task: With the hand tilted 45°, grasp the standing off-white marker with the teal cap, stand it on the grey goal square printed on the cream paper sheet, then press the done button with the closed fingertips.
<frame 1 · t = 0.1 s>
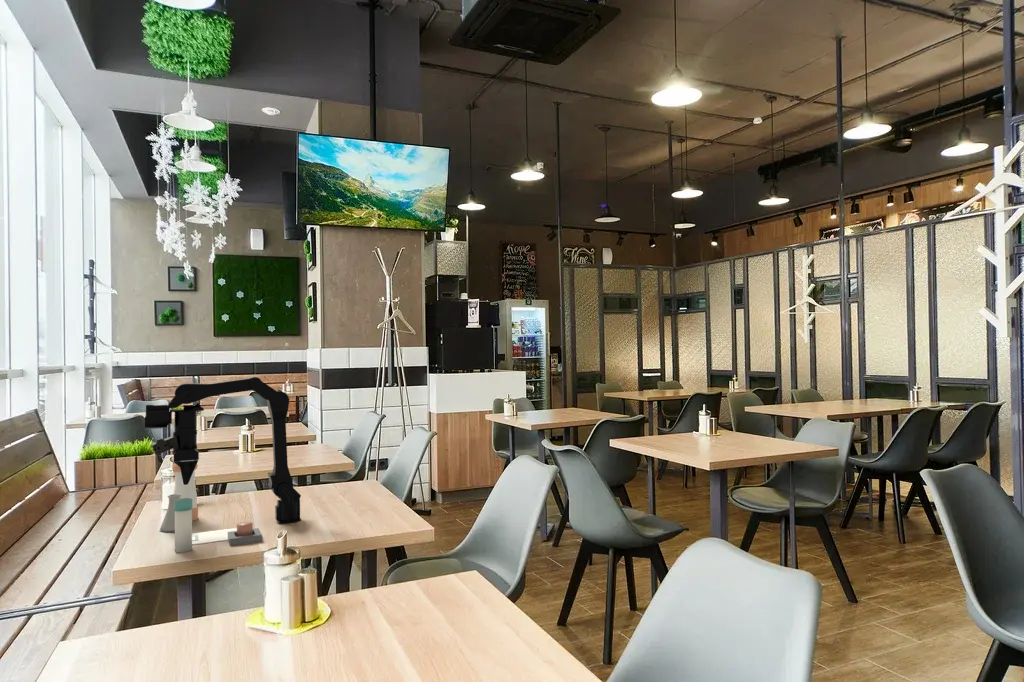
hand: (185, 481, 185), 15 cm above the table, tool pointing down, fingers open, 9 cm apart
done button: (244, 529, 178), point 3 cm above the table, slide at 0.0 cm
pepper shaker: (185, 520, 201), on the table
button collar: (244, 540, 178), on the table
flask: (174, 530, 190), on the table
paper: (210, 537, 181), on the table
marker: (183, 550, 169), on the table
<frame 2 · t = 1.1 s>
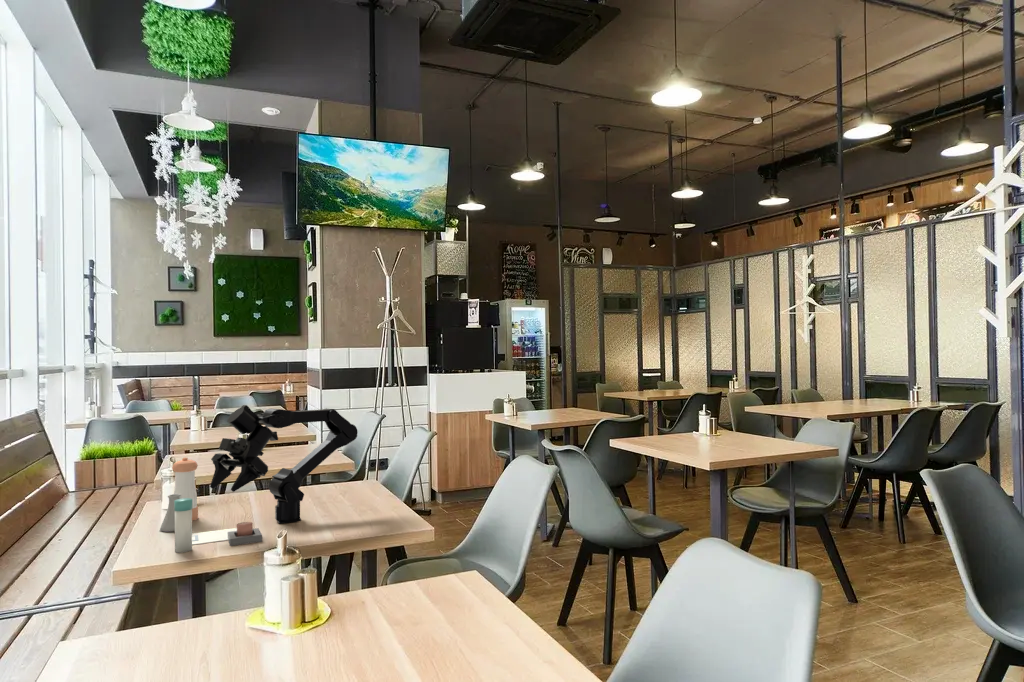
hand: (221, 489, 181), 13 cm above the table, tool tilted 45°, fingers open, 9 cm apart
nothing on the table moved.
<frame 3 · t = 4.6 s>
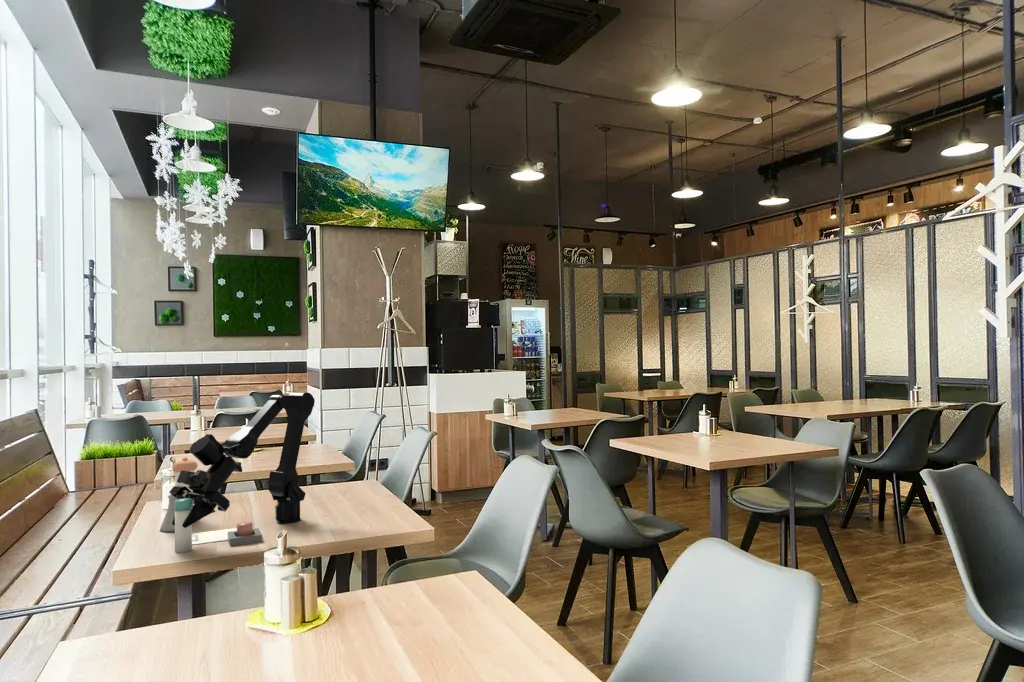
hand: (178, 525, 168), 7 cm above the table, tool tilted 45°, fingers closed on marker, 4 cm apart
marker: (183, 550, 169), on the table, touching gripper
everything else where it was.
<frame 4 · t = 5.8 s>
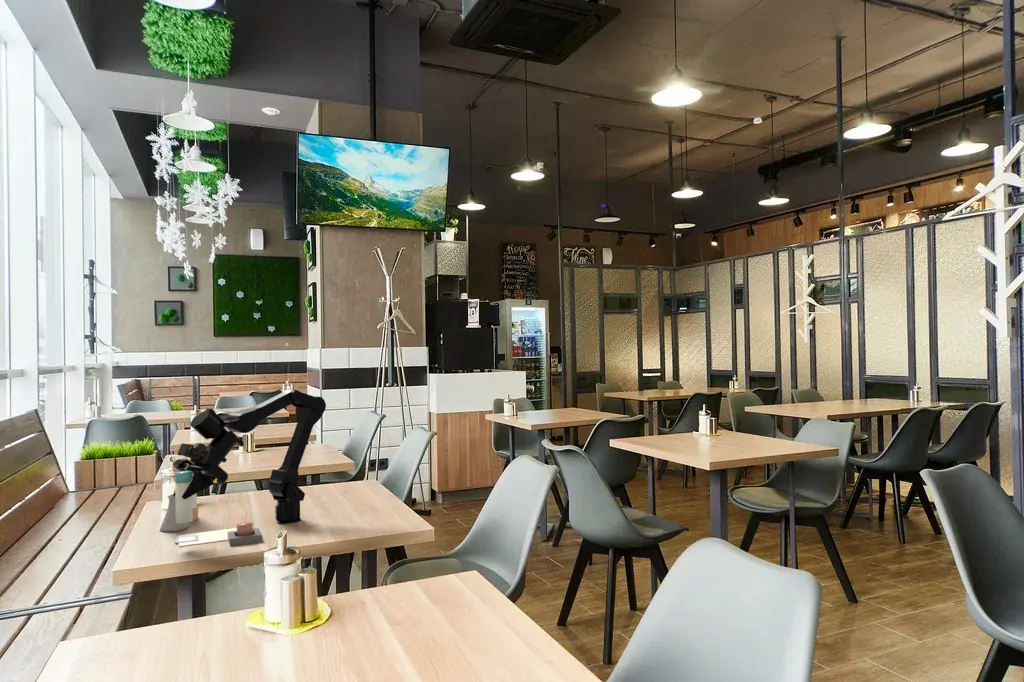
hand: (178, 497, 171), 13 cm above the table, tool tilted 45°, fingers closed on marker, 4 cm apart
marker: (184, 521, 172), point 7 cm above the table, touching gripper
everything else where it was.
when the fingers open (8 cm above the table, at t = 7.5 s): marker drops 1 cm, resting on paper.
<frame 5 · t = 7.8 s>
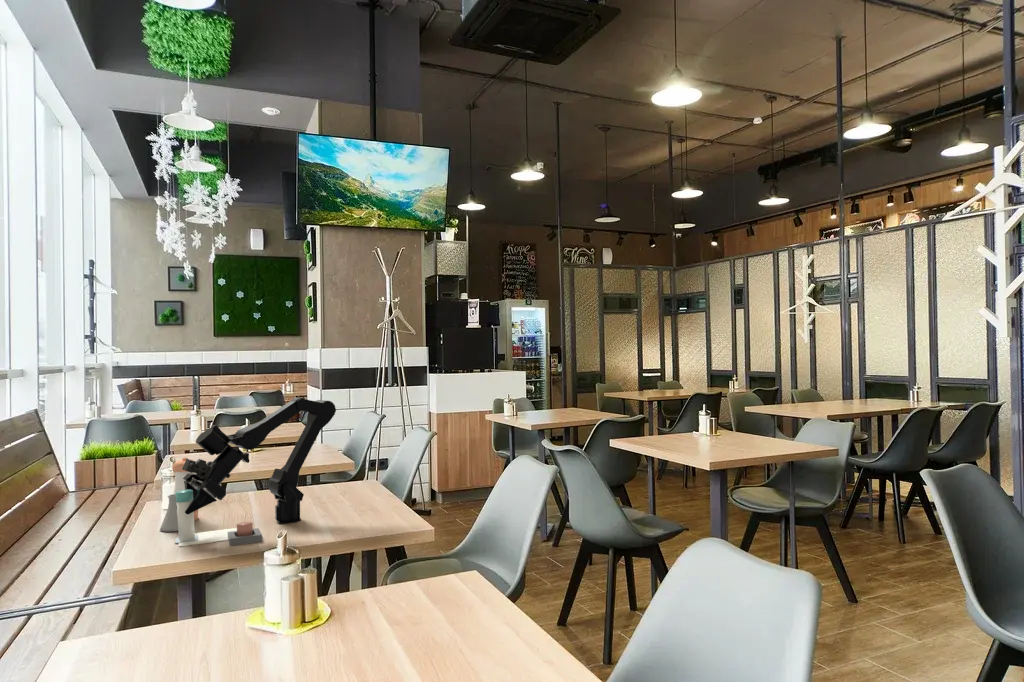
hand: (181, 511, 177), 8 cm above the table, tool tilted 45°, fingers open, 7 cm apart
marker: (187, 538, 178), resting on paper
everything else where it was.
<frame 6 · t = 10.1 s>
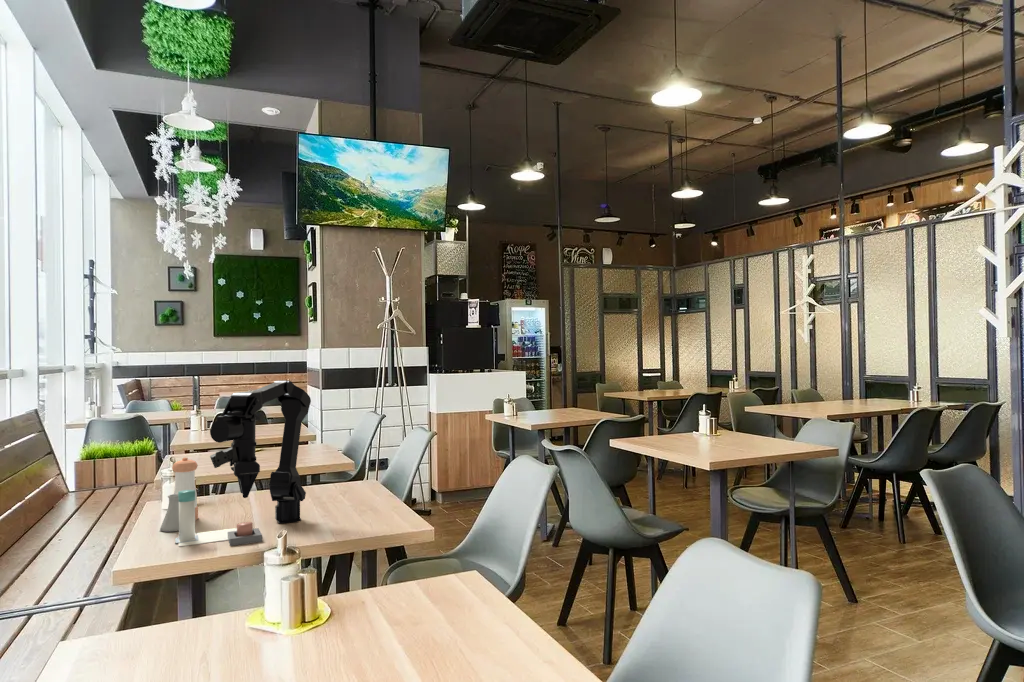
hand: (244, 495, 178), 12 cm above the table, tool pointing down, fingers open, 7 cm apart
nothing on the table moved.
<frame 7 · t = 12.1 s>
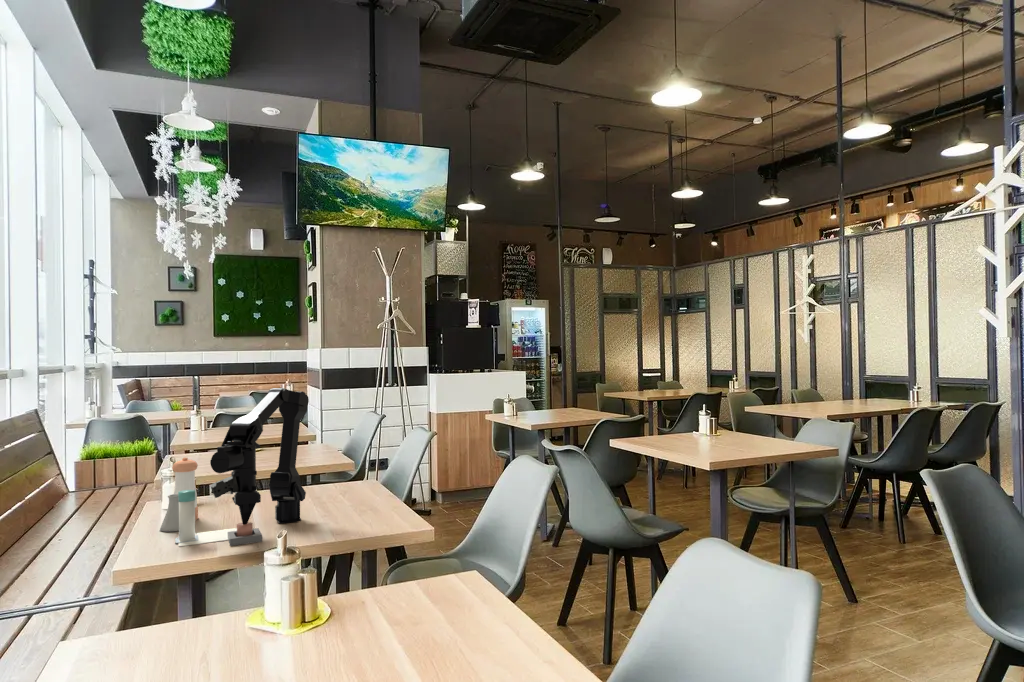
hand: (244, 524, 178), 4 cm above the table, tool pointing down, fingers closed, pressing on done button
done button: (244, 529, 178), point 3 cm above the table, slide at 0.1 cm, touching gripper
everything else where it was.
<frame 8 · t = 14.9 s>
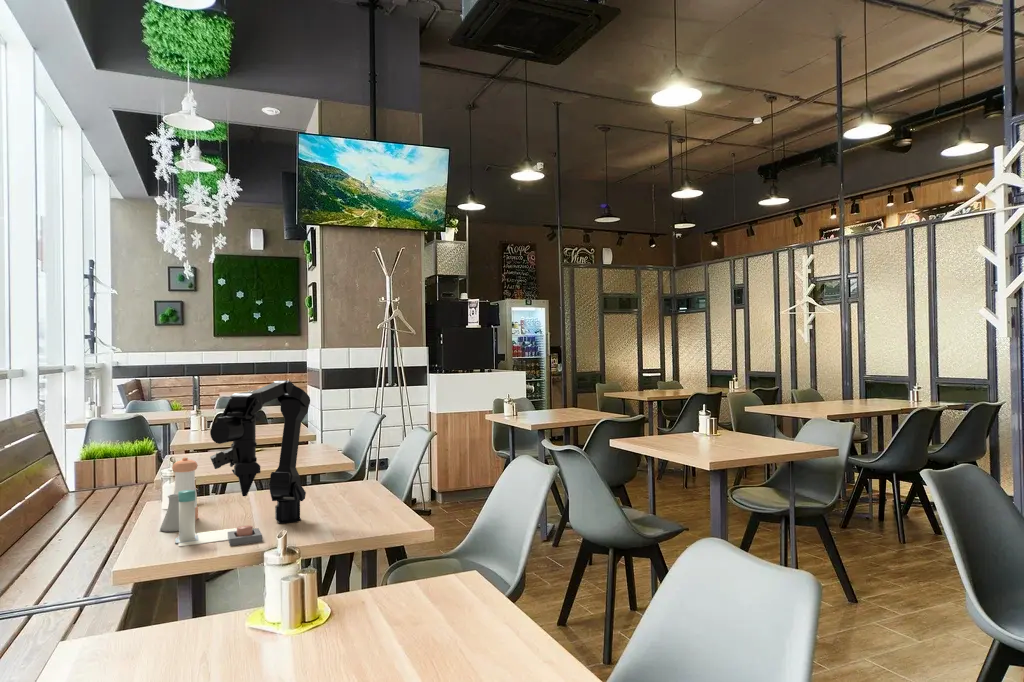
hand: (244, 496, 178), 12 cm above the table, tool pointing down, fingers closed
done button: (244, 532, 178), point 2 cm above the table, slide at 0.9 cm
everything else where it was.
at the end: marker 0.0 cm from the target spot on the paper, point 0.3 cm above the paper's base; marker tilted 0°; done button slide at 0.9 cm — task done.
